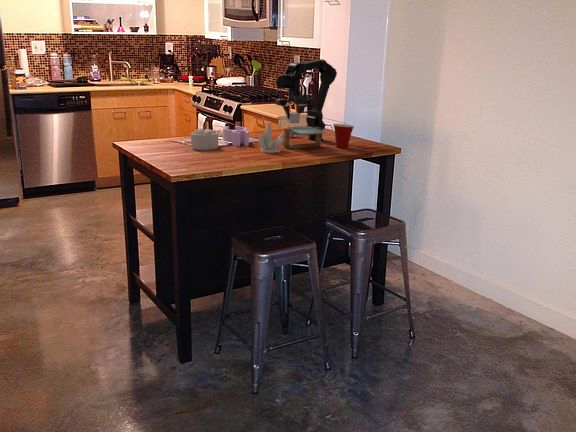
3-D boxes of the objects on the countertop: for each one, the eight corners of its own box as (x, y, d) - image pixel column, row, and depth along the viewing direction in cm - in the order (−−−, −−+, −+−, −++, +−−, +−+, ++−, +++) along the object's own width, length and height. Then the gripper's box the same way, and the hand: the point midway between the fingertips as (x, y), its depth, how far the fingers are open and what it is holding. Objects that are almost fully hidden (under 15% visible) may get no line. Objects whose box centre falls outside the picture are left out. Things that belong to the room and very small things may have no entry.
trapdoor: (286, 133, 282) (286, 126, 281) (310, 132, 288) (310, 126, 287) (300, 139, 269) (300, 132, 267) (325, 138, 275) (326, 131, 273)
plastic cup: (355, 147, 289) (357, 123, 285) (348, 150, 279) (350, 126, 276) (335, 144, 293) (337, 121, 289) (328, 147, 284) (330, 124, 280)
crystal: (288, 151, 271) (289, 120, 266) (264, 153, 264) (265, 122, 259) (278, 147, 279) (279, 117, 274) (254, 149, 272) (255, 118, 267)
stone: (295, 121, 293) (295, 112, 291) (299, 123, 288) (299, 113, 287) (286, 121, 291) (286, 112, 289) (290, 123, 286) (291, 113, 285)
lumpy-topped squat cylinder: (220, 148, 271) (220, 130, 269) (197, 150, 263) (197, 132, 260) (209, 144, 279) (209, 127, 276) (186, 147, 271) (186, 129, 268)
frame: (283, 147, 279) (284, 128, 276) (318, 145, 288) (319, 127, 285) (285, 148, 278) (286, 129, 275) (320, 146, 286) (321, 128, 283)
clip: (254, 145, 281) (254, 132, 279) (230, 146, 276) (231, 133, 274) (241, 138, 298) (241, 125, 296) (219, 139, 293) (219, 126, 291)
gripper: (284, 89, 273) (283, 121, 278) (317, 89, 281) (316, 120, 286) (275, 87, 283) (274, 118, 288) (307, 87, 290) (306, 117, 295)
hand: (292, 118), depth 289 cm, fingers closed on stone, 5 cm apart
